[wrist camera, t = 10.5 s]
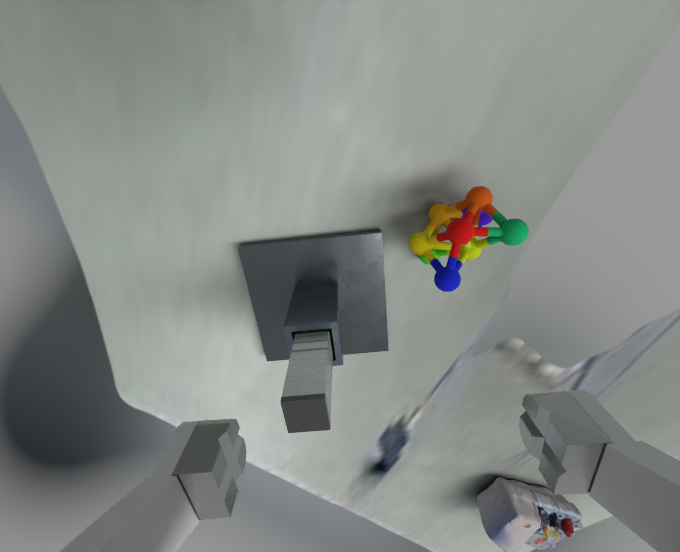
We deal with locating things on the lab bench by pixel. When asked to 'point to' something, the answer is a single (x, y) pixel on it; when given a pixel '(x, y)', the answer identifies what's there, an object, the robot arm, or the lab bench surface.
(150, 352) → the lab bench surface
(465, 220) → the molecular model
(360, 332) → the dark grey socket base
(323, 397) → the post
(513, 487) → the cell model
